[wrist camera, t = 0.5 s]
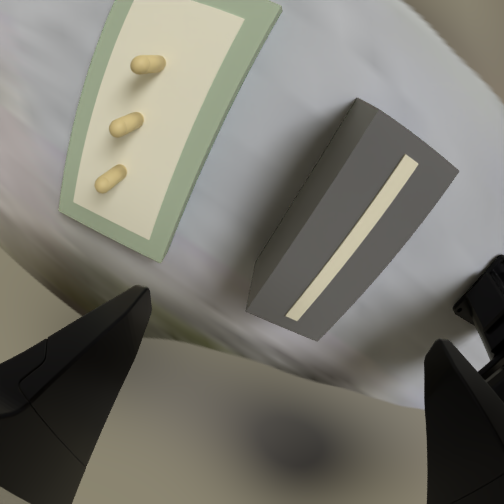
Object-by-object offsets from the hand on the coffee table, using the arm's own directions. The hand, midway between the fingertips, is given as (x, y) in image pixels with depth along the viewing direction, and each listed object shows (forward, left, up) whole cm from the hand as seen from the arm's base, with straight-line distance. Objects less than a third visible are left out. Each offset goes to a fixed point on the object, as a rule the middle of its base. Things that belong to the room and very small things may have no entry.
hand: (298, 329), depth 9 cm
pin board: (+10, 0, -12) cm, 16 cm away
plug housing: (-3, 0, -12) cm, 13 cm away
